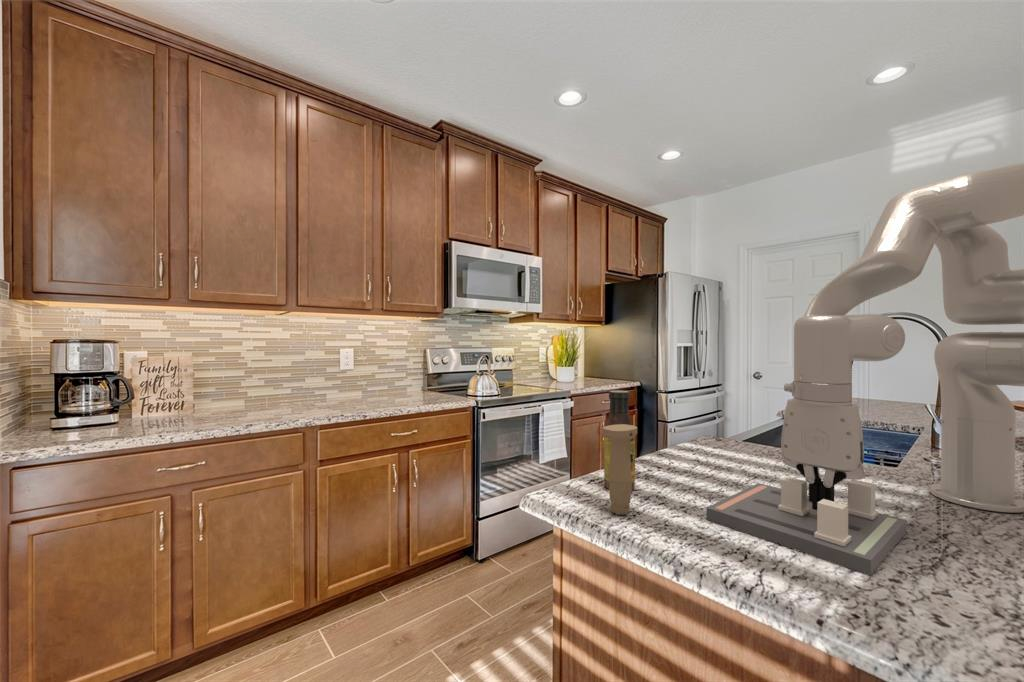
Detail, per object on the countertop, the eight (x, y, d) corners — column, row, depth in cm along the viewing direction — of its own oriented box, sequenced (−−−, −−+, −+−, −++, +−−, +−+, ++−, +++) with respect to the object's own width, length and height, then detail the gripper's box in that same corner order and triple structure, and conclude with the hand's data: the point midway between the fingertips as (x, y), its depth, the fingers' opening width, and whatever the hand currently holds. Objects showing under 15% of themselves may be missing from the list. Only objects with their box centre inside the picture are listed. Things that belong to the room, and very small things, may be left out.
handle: (642, 512, 77) (642, 427, 76) (618, 521, 73) (618, 432, 73) (621, 503, 80) (621, 423, 80) (597, 512, 77) (597, 427, 76)
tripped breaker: (785, 504, 74) (785, 475, 74) (809, 511, 71) (809, 481, 71) (778, 509, 72) (778, 479, 72) (802, 516, 70) (802, 485, 69)
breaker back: (850, 508, 73) (850, 478, 73) (878, 515, 70) (878, 484, 70) (844, 512, 71) (845, 482, 71) (872, 520, 68) (873, 488, 68)
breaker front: (821, 531, 64) (821, 497, 64) (851, 540, 61) (851, 505, 61) (814, 537, 62) (814, 502, 62) (844, 546, 59) (844, 510, 59)
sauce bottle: (636, 494, 85) (636, 393, 85) (604, 492, 86) (604, 392, 86) (634, 483, 92) (634, 389, 91) (603, 481, 93) (603, 389, 93)
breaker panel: (758, 493, 86) (758, 482, 86) (906, 532, 68) (906, 519, 68) (706, 519, 73) (706, 507, 73) (870, 575, 56) (871, 560, 56)
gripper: (761, 390, 72) (760, 500, 72) (876, 401, 60) (875, 531, 61) (779, 387, 77) (778, 490, 77) (889, 396, 65) (888, 517, 65)
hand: (821, 508), depth 69 cm, fingers closed
